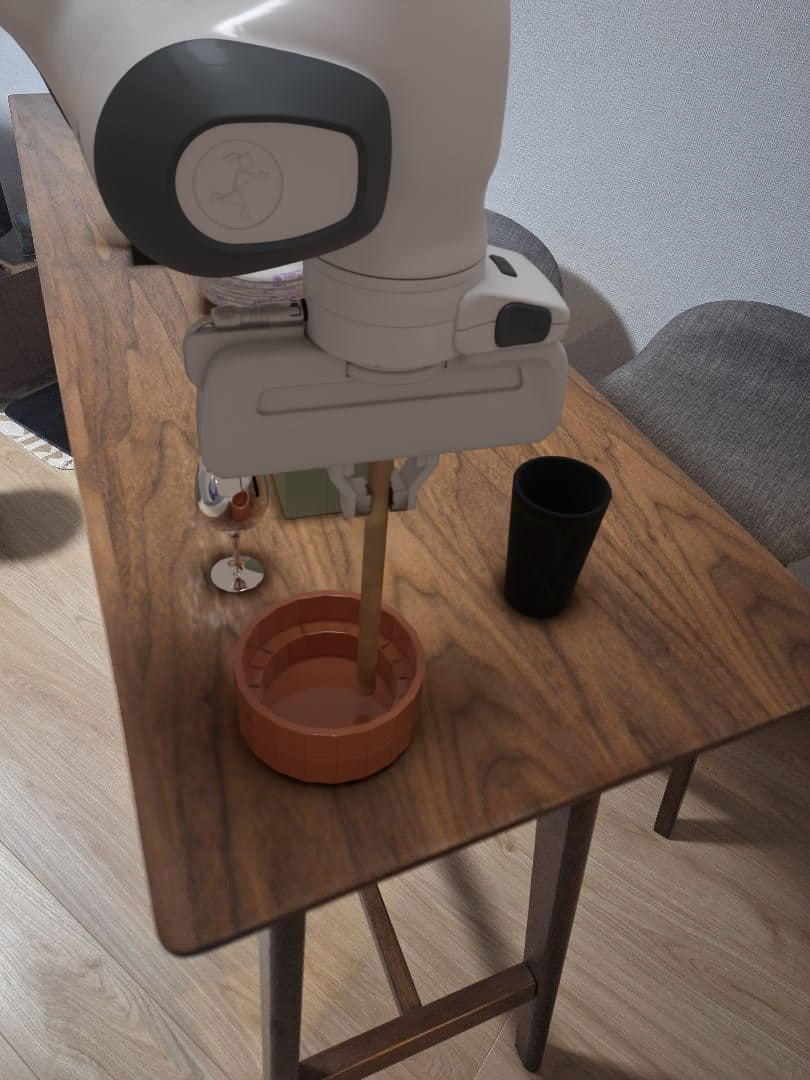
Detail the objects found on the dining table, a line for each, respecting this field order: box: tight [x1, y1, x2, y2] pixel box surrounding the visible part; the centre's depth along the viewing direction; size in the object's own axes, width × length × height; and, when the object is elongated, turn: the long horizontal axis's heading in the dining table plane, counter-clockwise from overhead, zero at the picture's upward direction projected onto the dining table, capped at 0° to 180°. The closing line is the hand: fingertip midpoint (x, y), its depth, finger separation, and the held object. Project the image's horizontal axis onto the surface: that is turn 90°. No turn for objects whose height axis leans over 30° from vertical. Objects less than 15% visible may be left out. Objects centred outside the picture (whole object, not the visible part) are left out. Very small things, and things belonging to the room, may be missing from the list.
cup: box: [503, 455, 613, 619], centre depth 74 cm, size 8×8×12 cm
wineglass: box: [193, 455, 270, 593], centre depth 73 cm, size 6×6×12 cm
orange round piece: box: [232, 589, 426, 784], centre depth 65 cm, size 13×13×6 cm
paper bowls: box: [198, 261, 303, 307], centre depth 110 cm, size 15×15×8 cm
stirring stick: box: [356, 460, 392, 697], centre depth 59 cm, size 1×1×22 cm
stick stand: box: [271, 459, 396, 520], centre depth 86 cm, size 10×10×7 cm
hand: (377, 507), depth 55 cm, fingers closed on stirring stick, 1 cm apart
